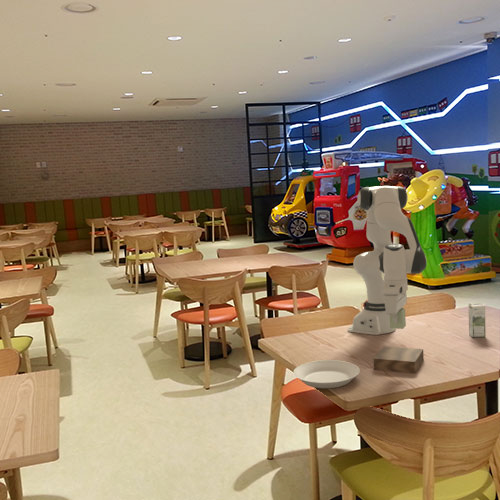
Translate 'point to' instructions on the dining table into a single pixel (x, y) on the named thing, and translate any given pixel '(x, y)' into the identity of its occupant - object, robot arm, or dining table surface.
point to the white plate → (326, 373)
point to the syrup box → (477, 320)
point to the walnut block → (398, 359)
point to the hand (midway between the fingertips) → (397, 320)
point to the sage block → (399, 320)
